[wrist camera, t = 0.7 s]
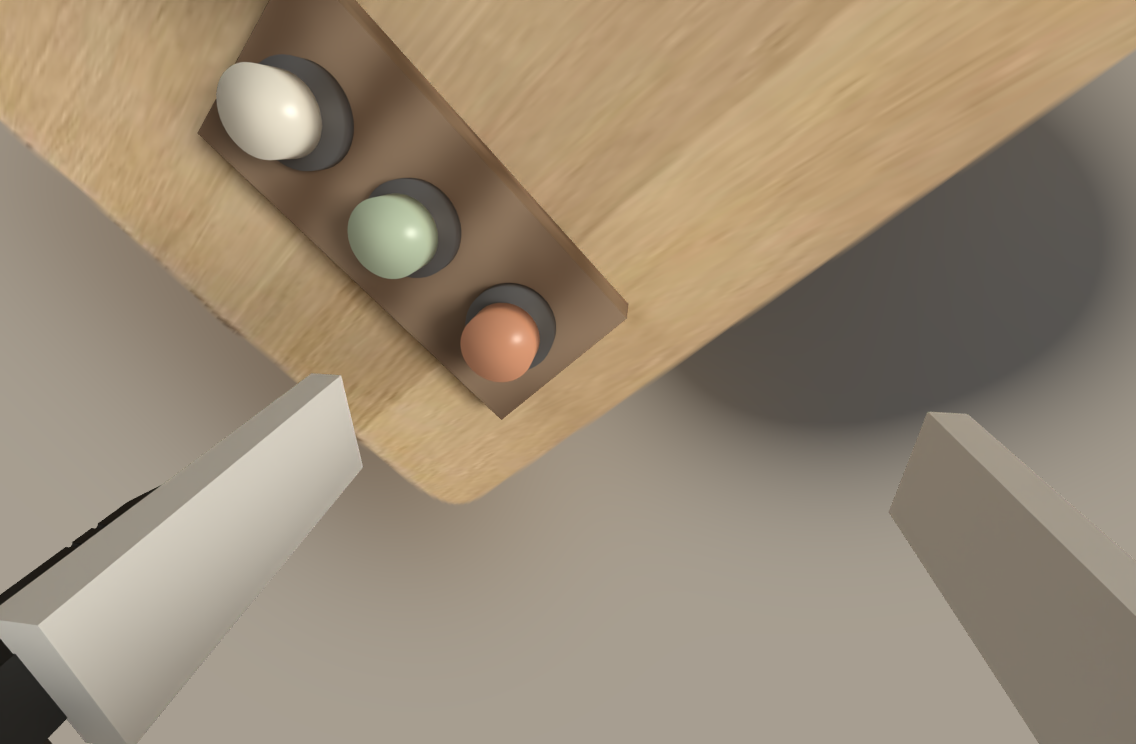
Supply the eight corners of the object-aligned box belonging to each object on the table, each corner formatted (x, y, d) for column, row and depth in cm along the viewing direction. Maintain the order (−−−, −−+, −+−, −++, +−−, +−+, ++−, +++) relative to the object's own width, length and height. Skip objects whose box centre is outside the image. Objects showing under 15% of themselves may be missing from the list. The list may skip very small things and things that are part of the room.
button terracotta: (457, 332, 31) (445, 344, 29) (503, 288, 29) (494, 297, 27) (506, 380, 32) (498, 395, 30) (554, 340, 30) (548, 353, 28)
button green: (352, 230, 29) (332, 236, 27) (395, 175, 27) (377, 178, 25) (408, 285, 30) (393, 294, 28) (453, 235, 28) (439, 242, 26)
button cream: (232, 113, 27) (202, 111, 25) (269, 46, 25) (240, 39, 23) (296, 176, 28) (272, 178, 26) (336, 116, 26) (314, 114, 24)
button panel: (234, 133, 32) (182, 132, 28) (329, -29, 27) (280, -55, 24) (511, 400, 38) (497, 427, 34) (628, 303, 33) (626, 324, 30)
